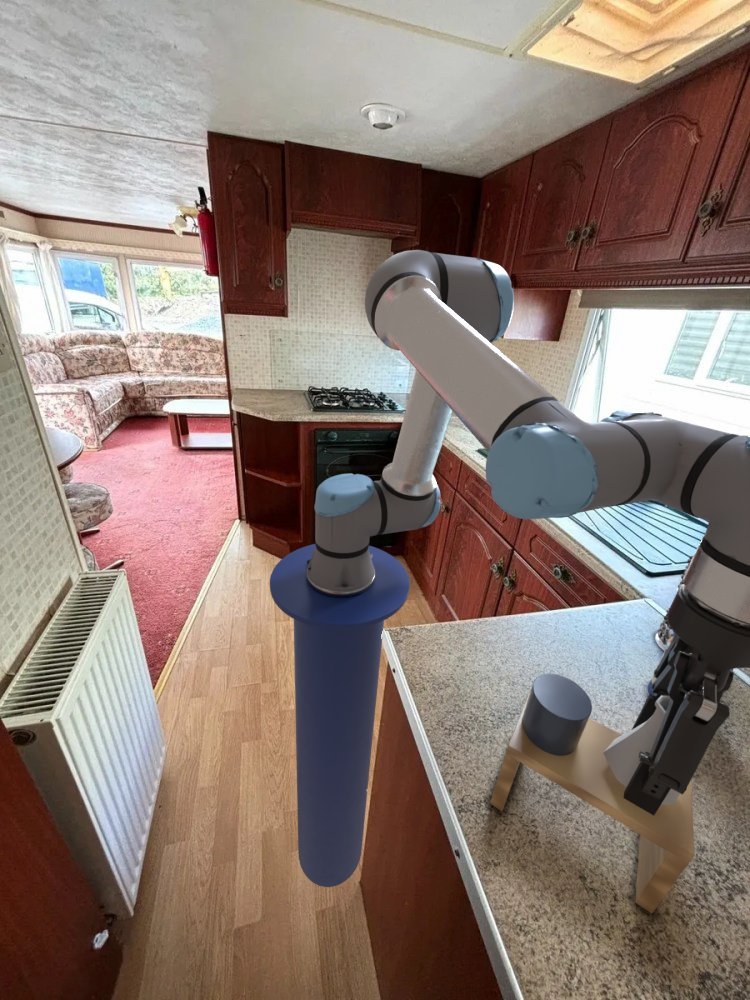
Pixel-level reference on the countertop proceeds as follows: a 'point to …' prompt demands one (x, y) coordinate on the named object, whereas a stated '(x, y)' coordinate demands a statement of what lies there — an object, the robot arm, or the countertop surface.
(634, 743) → the flask
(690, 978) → the countertop surface
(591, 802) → the spice shelf
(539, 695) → the spice tin
